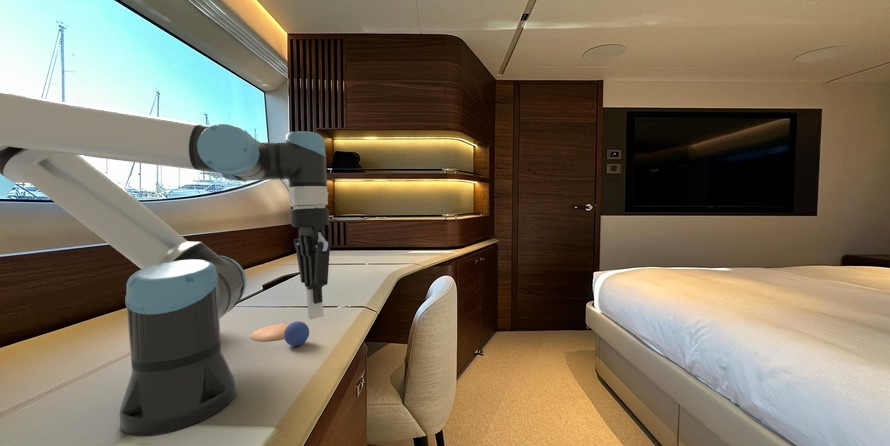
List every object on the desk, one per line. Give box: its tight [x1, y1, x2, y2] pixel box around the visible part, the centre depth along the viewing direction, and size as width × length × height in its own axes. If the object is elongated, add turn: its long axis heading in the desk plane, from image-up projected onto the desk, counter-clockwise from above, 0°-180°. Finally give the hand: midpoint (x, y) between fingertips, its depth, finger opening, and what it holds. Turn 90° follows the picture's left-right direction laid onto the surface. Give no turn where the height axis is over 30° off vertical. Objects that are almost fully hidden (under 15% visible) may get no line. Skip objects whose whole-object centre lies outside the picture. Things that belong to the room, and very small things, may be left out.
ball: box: [283, 320, 310, 347], centre depth 83 cm, size 6×6×6 cm
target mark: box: [250, 322, 292, 342], centre depth 92 cm, size 12×12×1 cm
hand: (315, 316), depth 76 cm, fingers closed
